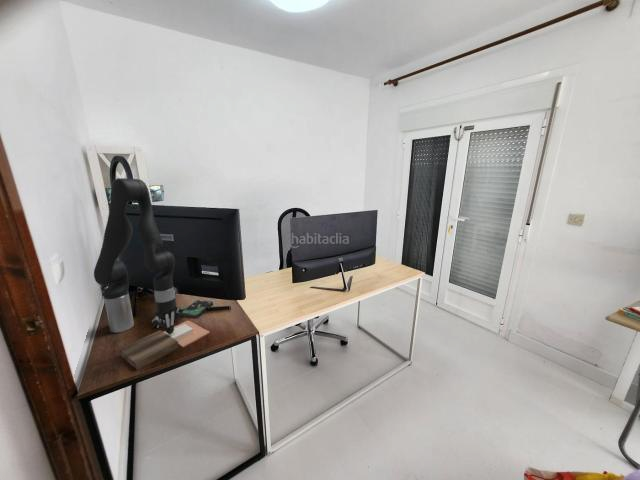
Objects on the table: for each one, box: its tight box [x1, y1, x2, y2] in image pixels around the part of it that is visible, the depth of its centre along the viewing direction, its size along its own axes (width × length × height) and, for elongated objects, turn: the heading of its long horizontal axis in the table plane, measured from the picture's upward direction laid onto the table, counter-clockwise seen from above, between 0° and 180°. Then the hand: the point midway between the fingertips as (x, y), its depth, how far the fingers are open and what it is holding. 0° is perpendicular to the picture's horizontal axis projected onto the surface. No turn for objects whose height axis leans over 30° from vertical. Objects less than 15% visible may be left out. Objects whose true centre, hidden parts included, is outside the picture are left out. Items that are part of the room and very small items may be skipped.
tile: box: [165, 324, 193, 341], centre depth 118 cm, size 7×9×2 cm
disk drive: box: [180, 299, 214, 319], centre depth 141 cm, size 10×3×15 cm
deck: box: [119, 329, 180, 371], centre depth 107 cm, size 15×16×3 cm
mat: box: [163, 320, 211, 348], centre depth 120 cm, size 18×13×1 cm
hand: (170, 332), depth 114 cm, fingers closed
